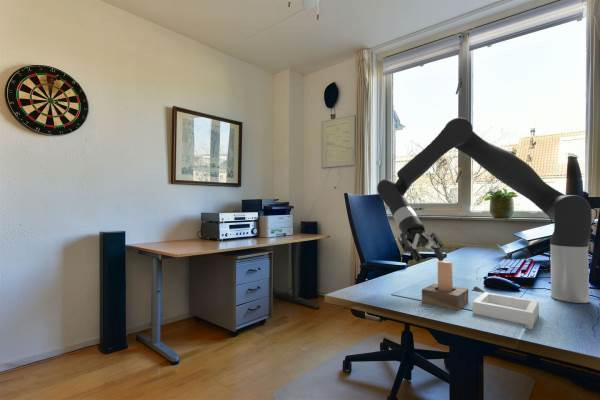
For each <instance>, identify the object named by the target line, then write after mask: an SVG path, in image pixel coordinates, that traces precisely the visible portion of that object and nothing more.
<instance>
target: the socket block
mask: <svg viewBox="0 0 600 400" xmlns="http://www.w3.org/2000/svg"><path fill="white" fill-rule="evenodd" d="M421 304H425V305H429V306H434V307H438V308H443V309H444V308H445V309H449V310H453V311H458V312H459V311H460V310H461V309H462V308H463V307H465V306H466V305H467V304H469V288H467V287H466V288H465V287H458V286H454V285H453V292H446V291H441V290H438V283H434V282H433V283H432V284H430V285H427V286H426V287H424V288H422V289H421Z"/></svg>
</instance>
